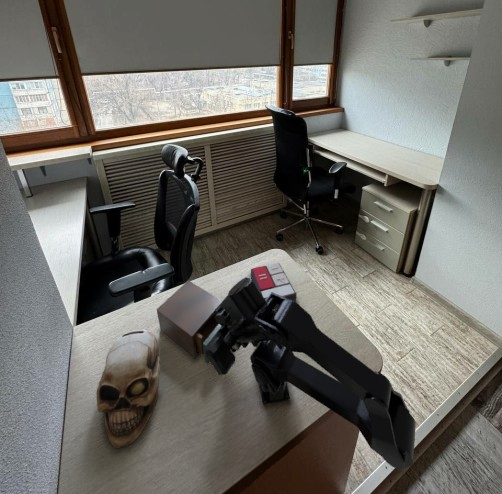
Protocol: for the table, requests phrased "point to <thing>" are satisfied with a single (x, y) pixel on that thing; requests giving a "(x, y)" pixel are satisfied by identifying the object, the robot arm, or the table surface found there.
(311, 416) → the table surface
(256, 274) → the calculator
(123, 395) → the coin bank
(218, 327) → the drawer
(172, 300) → the cabinet
